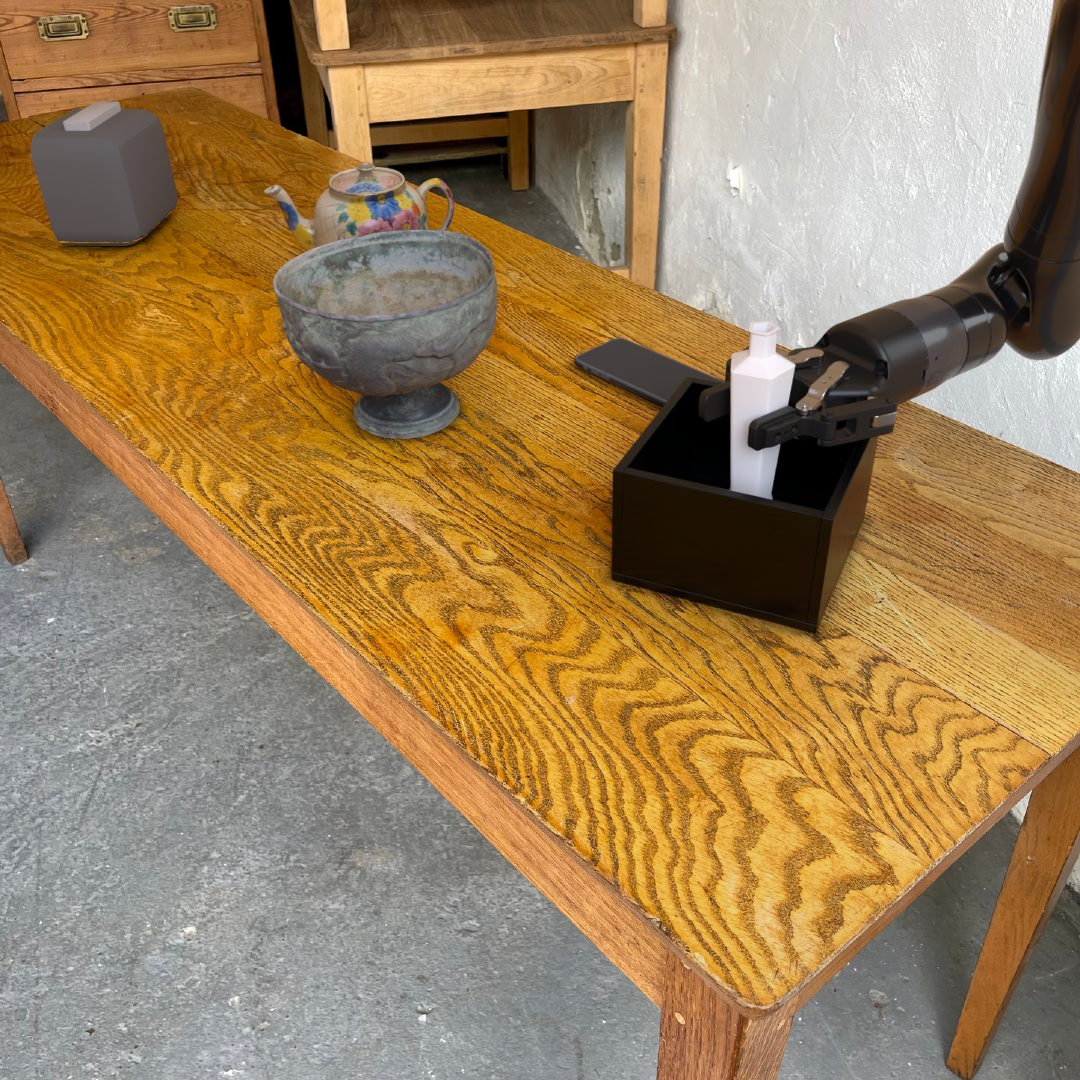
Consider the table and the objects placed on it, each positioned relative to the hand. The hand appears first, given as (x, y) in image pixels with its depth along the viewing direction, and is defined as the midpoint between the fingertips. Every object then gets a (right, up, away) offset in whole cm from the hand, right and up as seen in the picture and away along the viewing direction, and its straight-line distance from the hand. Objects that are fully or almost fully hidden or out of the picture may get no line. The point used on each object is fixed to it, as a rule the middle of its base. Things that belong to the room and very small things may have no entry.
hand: (727, 422), depth 78 cm
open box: (+3, -9, +8) cm, 12 cm away
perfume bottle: (+3, -6, +6) cm, 9 cm away
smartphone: (-2, +8, +32) cm, 33 cm away
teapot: (-34, +24, +56) cm, 70 cm away
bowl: (-26, +3, +27) cm, 38 cm away
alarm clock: (-69, +33, +72) cm, 105 cm away
